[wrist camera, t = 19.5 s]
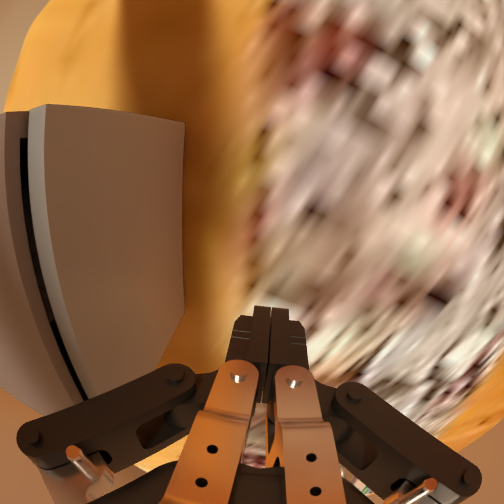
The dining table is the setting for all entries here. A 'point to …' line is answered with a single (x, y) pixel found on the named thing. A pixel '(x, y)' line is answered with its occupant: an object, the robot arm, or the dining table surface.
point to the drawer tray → (108, 235)
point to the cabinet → (26, 296)
